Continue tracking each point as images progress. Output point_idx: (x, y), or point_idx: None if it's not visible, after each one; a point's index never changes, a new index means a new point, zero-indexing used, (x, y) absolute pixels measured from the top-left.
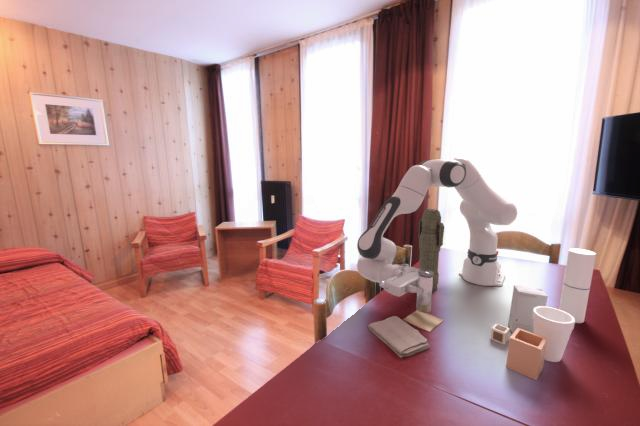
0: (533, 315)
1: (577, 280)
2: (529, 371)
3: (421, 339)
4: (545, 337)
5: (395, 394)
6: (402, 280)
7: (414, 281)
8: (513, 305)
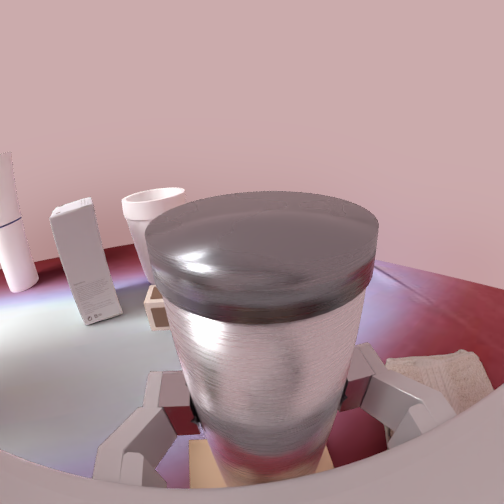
0: (164, 208)
1: (15, 203)
2: None
3: (402, 371)
4: None
5: (490, 307)
6: (493, 488)
7: (317, 473)
8: (86, 259)
